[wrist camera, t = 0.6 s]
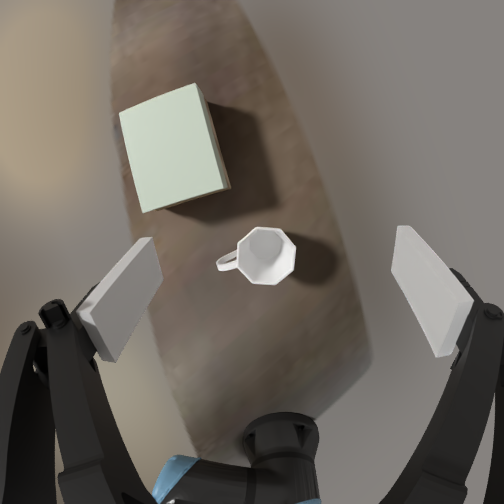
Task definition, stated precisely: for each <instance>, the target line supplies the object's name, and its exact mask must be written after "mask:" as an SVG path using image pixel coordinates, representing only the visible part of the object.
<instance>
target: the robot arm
mask: <svg viewBox="0 0 504 504" xmlns="http://www.w3.org/2000/svg"><path fill="white" fill-rule="evenodd" d="M391 272H392V274H393V275H394V277H395V279H396V281H397V282H398V284H399V286H400V288H401V289H402V291H403V293H404V295H405V297H406V299H407V300H408V302H409V304H410V306H411V308H412V310H413V312H414V314H415V315H416V317H417V319H418V321H419V323H420V325H421V327H422V329H423V331H424V333H425V335H426V337H427V339H428V342H429V344H430V346H431V348H432V350H433V352H434V354H435V357H442V356H446V355H451V353H452V351H453V349H454V347H455V345H457V346H458V348H459V350H460V351H459V353H458V355H457V357H456V358H455V360H454V362H453V364H452V366H451V368H450V369H452V371H451V374H450V377H449V379H448V382H447V384H446V387H445V389H444V392H443V395H442V397H441V399H440V401H439V404H438V406H437V408H436V410H435V413H434V415H433V417H432V419H431V421H430V423H429V425H428V427H427V429H426V431H425V433H424V435H423V437H422V439H421V441H420V442H419V444H418V446H417V448H416V450H415V452H414V453H413V455H412V457H411V458H410V460H409V462H408V463H407V465H406V467H405V468H404V470H403V472H402V473H401V475H400V476H399V478H398V479H397V481H396V482H395V484H394V485H393V487H392V488H391V490H390V491H389V492H388V494H387V495H386V496H385V498H384V499H383V500H382V501H381V502H380V503H379V504H463V503H464V500H465V498H466V495H467V487H466V486H465V481H466V478H467V476H468V473H469V471H470V469H471V466H472V464H473V461H474V459H475V456H476V453H477V451H478V448H479V445H480V442H481V440H482V436H483V433H484V430H485V427H486V424H487V420H488V417H489V413H490V409H491V405H492V402H493V397H494V393H495V427H494V441H493V451H492V459H491V467H490V473H489V478H488V484H487V489H486V494H485V498H484V502H483V504H504V313H503V311H502V310H501V309H500V308H499V307H498V306H496V305H494V304H490V303H483V301H482V300H481V298H480V297H479V296H478V295H477V293H476V292H475V291H474V290H473V288H472V287H470V285H469V283H468V282H466V280H465V279H464V278H463V276H462V275H461V274H460V273H459V272H457V271H456V270H454V269H453V268H450V269H449V268H448V267H447V266H446V265H445V264H444V262H443V261H442V260H441V259H440V258H439V257H438V256H437V254H436V253H435V252H434V251H433V250H432V249H431V248H430V247H429V245H428V244H427V243H426V242H425V241H424V240H423V239H422V238H421V237H420V236H419V235H418V234H417V233H416V232H415V231H414V229H413V228H411V226H398V227H397V234H396V242H395V249H394V256H393V262H392V269H391ZM163 280H164V279H163V276H162V272H161V268H160V265H159V261H158V257H157V253H156V250H155V246H154V242H153V238H152V237H146V238H140V239H139V240H138V241H137V242H136V243H135V244H134V245H133V246H132V247H131V249H130V250H129V251H128V252H127V253H126V254H125V255H124V256H123V257H122V258H121V259H120V260H119V262H118V263H117V264H116V265H115V266H114V267H113V268H112V269H111V271H110V272H109V273H108V274H107V275H106V276H105V278H104V279H103V280H102V281H101V282H99V283H98V284H97V285H95V286H94V287H92V288H91V290H90V291H89V292H88V293H87V295H86V296H85V297H84V298H83V300H81V302H80V303H79V304H78V305H77V306H76V308H75V309H74V310H73V311H72V312H71V314H69V312H68V310H67V308H66V306H65V304H64V302H63V300H61V299H55V300H52V301H50V302H48V303H46V304H45V305H44V306H42V308H41V309H40V310H39V316H40V318H41V319H42V321H43V323H44V325H45V327H46V328H45V329H38V327H37V325H36V323H35V322H34V321H27V322H24V323H23V324H21V325H20V326H19V327H18V328H17V330H16V332H15V333H14V336H13V339H12V341H11V344H10V347H9V349H8V352H7V355H6V358H5V361H4V364H3V366H2V370H1V373H0V504H57V500H56V487H55V428H56V433H57V438H58V443H59V448H60V452H61V456H62V460H63V464H64V471H63V472H61V473H59V474H58V484H59V487H60V491H61V494H62V497H63V500H64V502H65V504H321V499H320V495H319V489H318V483H317V476H316V470H315V464H314V459H315V455H316V451H317V447H318V443H319V432H318V427H317V425H316V424H315V422H314V421H313V420H311V419H310V418H308V417H306V416H304V415H300V414H296V413H273V414H269V415H265V416H262V417H260V418H258V419H256V420H254V421H252V422H251V423H250V424H249V425H248V426H247V427H246V429H245V431H244V436H243V445H244V449H245V451H246V454H247V457H248V459H249V462H250V464H251V468H248V467H241V466H234V465H229V464H223V463H218V462H213V461H208V460H203V459H201V458H199V457H198V458H194V457H188V456H184V455H174V456H173V457H171V458H170V459H169V460H168V461H167V462H166V464H165V466H164V467H163V469H162V471H161V473H160V475H159V477H158V479H157V482H156V484H155V486H154V489H153V492H152V495H151V494H150V493H149V492H148V491H147V489H146V488H145V486H144V484H143V483H142V481H141V479H140V477H139V475H138V473H137V471H136V469H135V467H134V464H133V462H132V460H131V458H130V456H129V453H128V451H127V449H126V447H125V444H124V442H123V440H122V437H121V435H120V432H119V430H118V427H117V425H116V422H115V419H114V416H113V414H112V411H111V408H110V405H109V402H108V400H107V396H106V393H105V390H104V387H103V384H102V380H101V377H100V374H99V370H98V366H97V363H96V361H95V359H94V358H93V356H94V355H95V353H96V351H97V352H98V354H99V356H100V357H101V359H102V360H103V361H108V362H114V363H116V362H117V360H118V358H119V356H120V354H121V352H122V350H123V349H124V346H125V345H126V343H127V341H128V340H129V338H130V336H131V334H132V332H133V331H134V329H135V327H136V325H137V324H138V322H139V320H140V318H141V317H142V315H143V313H144V312H145V310H146V308H147V306H148V305H149V303H150V301H151V300H152V298H153V296H154V295H155V293H156V291H157V290H158V288H159V286H160V285H161V283H162V281H163ZM33 365H34V366H35V368H36V371H35V372H34V369H33Z"/></svg>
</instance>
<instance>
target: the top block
mask: <svg viewBox="0 0 504 504" xmlns="http://www.w3.org/2000/svg"><path fill="white" fill-rule="evenodd" d="M119 116H120V121H121V126H122V131H123V136H124V140H125V145H126V149H127V154H128V158H129V162H130V166H131V170H132V175H133V178H134V182H135V186H136V190H137V194H138V197H139V201H140V205H141V208H142V212H143V213H145V212H148V211H152V210H155V209H158V208H162V207H165V206H168V205H171V204H174V203H177V202H180V201H184V200H187V199H190V198H193V197H197V196H200V195H204V194H207V193H210V192H214V191H217V190H221V189H224V188H228V186H227V183H226V179H225V175H224V172H223V168H222V164H221V161H220V157H219V153H218V149H217V146H216V142H215V138H214V135H213V131H212V127H211V123H210V120H209V116H208V112H207V109H206V105H205V101H204V97H203V94H202V92H201V90H200V89H199V87H198V86H197V84H196V83H194V84H191V85H188V86H185V87H182V88H179V89H176V90H173V91H171V92H168V93H165V94H163V95H160V96H158V97H155V98H153V99H150V100H148V101H145V102H143V103H141V104H138V105H136V106H134V107H131V108H129V109H127V110H125V111H123V112H120V113H119Z"/></svg>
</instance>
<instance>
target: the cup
mask: <svg viewBox="0 0 504 504" xmlns="http://www.w3.org/2000/svg"><path fill="white" fill-rule="evenodd" d="M295 253H296V246H295V245H294V244H293V243H292V242H291V241H290V239H289V238H288V237H287V236H286V235H285V234H284V232H283V231H282V230H281V229H278V228H270V227H256V228H254V229H253V230H252V231H251V232H250V233H249V234H247V235H246V236H245V237H244V238H243V239H242V240H241V241H239V242H238V244H237V250H235V251H233V252H231V253H229V254H227V255H225V256H223V257H221V258H220V259H219V260H217V261H216V265H217V267H218V269H219V271H227V270H231V269H234V268H238V269H239V270H240V271H241V272H242V273H243V274H244V275H245V276H246V277H247V278H248V280H249V281H250V282H251V283H252V284H267V285H276V284H278V283H279V282H280V281H281V280H283V279H284V278H285V277H286V276H287V275H289V274H290V273H291V272H292V271H294V263H295ZM236 256H237V260H235V261H232V262H229V263H226V264H223V263H225V262H227V261H229V260H230V259H232V258H234V257H236Z"/></svg>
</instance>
